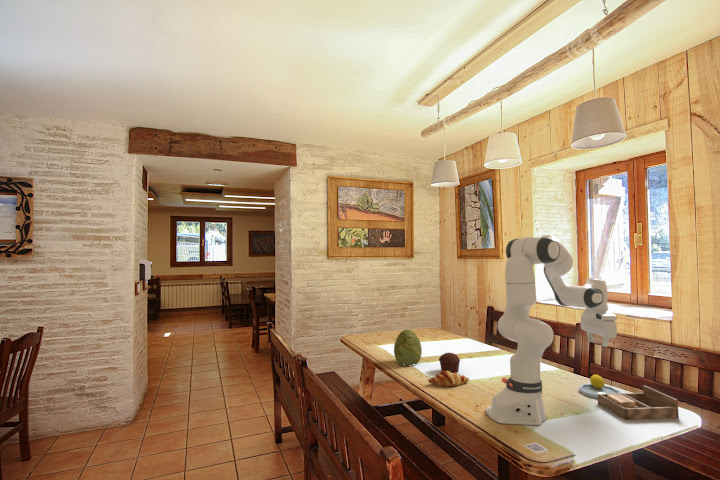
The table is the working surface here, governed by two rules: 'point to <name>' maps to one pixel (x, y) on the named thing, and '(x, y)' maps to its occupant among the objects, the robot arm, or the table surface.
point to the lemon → (597, 381)
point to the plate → (596, 390)
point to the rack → (643, 405)
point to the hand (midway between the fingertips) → (597, 343)
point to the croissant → (448, 379)
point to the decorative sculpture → (407, 348)
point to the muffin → (449, 362)
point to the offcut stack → (622, 401)
